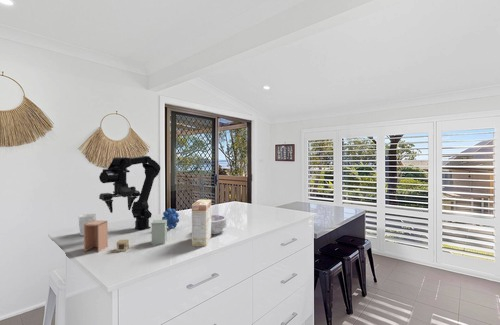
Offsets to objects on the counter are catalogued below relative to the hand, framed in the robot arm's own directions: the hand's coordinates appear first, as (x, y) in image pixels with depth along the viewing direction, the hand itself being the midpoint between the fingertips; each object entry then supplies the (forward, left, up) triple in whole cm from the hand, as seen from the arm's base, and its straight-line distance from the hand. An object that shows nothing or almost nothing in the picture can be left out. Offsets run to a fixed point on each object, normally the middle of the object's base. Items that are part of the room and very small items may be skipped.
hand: (120, 211), depth 137 cm
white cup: (+9, -18, -13) cm, 24 cm away
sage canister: (-7, +24, -13) cm, 28 cm away
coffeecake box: (-21, +39, -13) cm, 46 cm away
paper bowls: (-35, +32, -13) cm, 49 cm away
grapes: (-25, +9, -13) cm, 30 cm away
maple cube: (+9, +20, -13) cm, 26 cm away
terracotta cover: (+16, +10, -13) cm, 23 cm away
